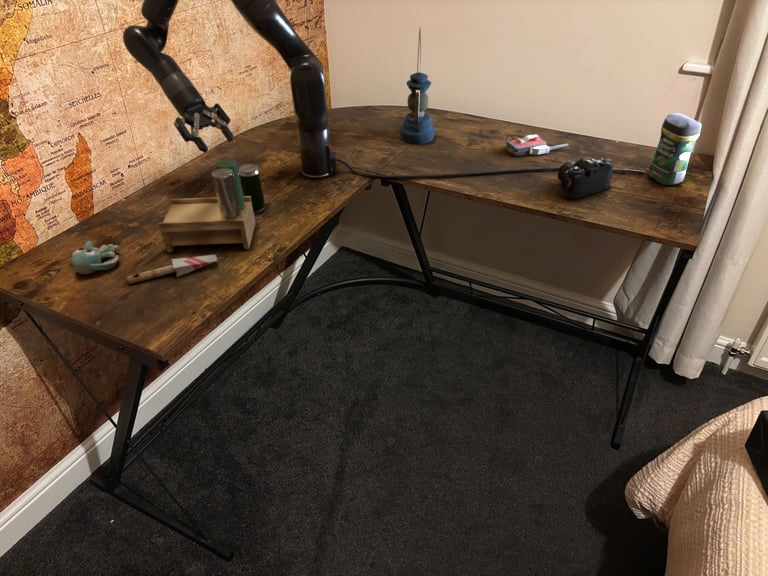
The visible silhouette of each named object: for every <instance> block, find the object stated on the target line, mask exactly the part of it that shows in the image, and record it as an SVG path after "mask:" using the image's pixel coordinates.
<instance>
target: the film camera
mask: <svg viewBox="0 0 768 576" xmlns="http://www.w3.org/2000/svg"><path fill="white" fill-rule="evenodd" d="M614 165H615V162H614V161H612V159H610V158H605V159H604V158H599V159H594V158H591V157H589V156H587V157H583V158H580V159H579V160H577V161H572V160H566V161H565V162H563V163H562V164H561V166H559V167H560V169H559V170H557V179H558V180H559V181H560V182H561V183H562V184H563V185H564V188H563V194H562V195H563V198H565V199H567V200H573V199H578V198H582V197H585V196H589V195H592V194H595V193H598V192H602V191H605V190H607V189H609V187H610V184H611V179H612V176H613V172H614V171H613V168H614Z"/></svg>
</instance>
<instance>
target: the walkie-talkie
mask: <svg viewBox="0 0 768 576" xmlns="http://www.w3.org/2000/svg"><path fill="white" fill-rule="evenodd" d="M564 147H569V143H561V144H557V145H552V146H551V145H550V146H548V145H547V142H546V141H545V140H543V138H541V136H540V135H538V134H535V133H533V134H529V135H525V136H524V137H523V138H521V137H519V138H517V139H513V140H507V141H506V144H505V151H507V152H508V153H510V154H511V155H512V156H514V157H521V156H526V155H534V156H535V155H536V156H539V155H544V154H549V152H551V151H553V150H557V149H561V148H564Z"/></svg>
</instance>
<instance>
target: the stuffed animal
mask: <svg viewBox="0 0 768 576" xmlns="http://www.w3.org/2000/svg"><path fill="white" fill-rule="evenodd" d="M119 251H120V247H119V245H117V244H115V245H114V244H113V243H110V244H107V245H106V244H103V245H101V246H100V247H99V248H98V247H95V246H94V244H93V241H91V240H88V241H86V243H85V244H84V245H83V246H82V247H80V248H77V249H76V250H75V251H74V252H72V253H71V265H72V267H73V268H74V270H75V271H76V272H77V273H79V274H81V275H89V274H93V273H94V272H96V271H108V270H110V269H113V268H114V267H115V266H116V265H117V264H118V261H119V257H120V256H119V255H118V254H116V253H117V252H119ZM105 258H106V259H107V258H109V259H108V260H106V261H104V262H102V259H105Z"/></svg>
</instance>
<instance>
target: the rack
mask: <svg viewBox="0 0 768 576" xmlns="http://www.w3.org/2000/svg"><path fill="white" fill-rule="evenodd" d="M215 168H216V169H214V170H213V171H212V172H211V178H212V183H213V189H214V192H215V197H214V196H213V197H191V198H187V197H186V198H171V199H170V203H171V205H170V207H169V209H168V211H167V213H166V215H165V217H164V219H163V221H162V222H161V221H159V222H158V227H159V230H160V233H161V236H162V240H163V242H164V243H163V244H164V246H165V248H166V252H167V253H173V251H174V249H175V247H178V246H199V245H224V244H226V245H227V244H242V245H243V249H244V250H250V247H251V243H252V239H253V236H254V231H255V227H256V225H257V223H256V219H255V218H256V217H255V213H254V212H253V207H252V202H251V196H243V192H242V187H241V182H240V177H239V168H238V162H237V160H236V159H233V158H222V159H219V160H218V161H217V162H216V163H215Z"/></svg>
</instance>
